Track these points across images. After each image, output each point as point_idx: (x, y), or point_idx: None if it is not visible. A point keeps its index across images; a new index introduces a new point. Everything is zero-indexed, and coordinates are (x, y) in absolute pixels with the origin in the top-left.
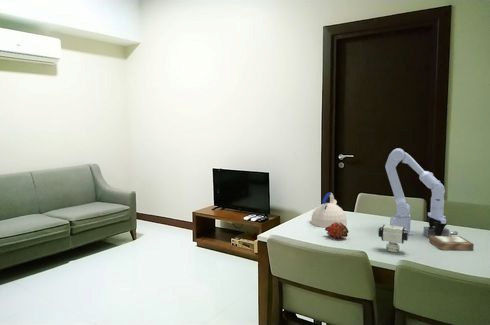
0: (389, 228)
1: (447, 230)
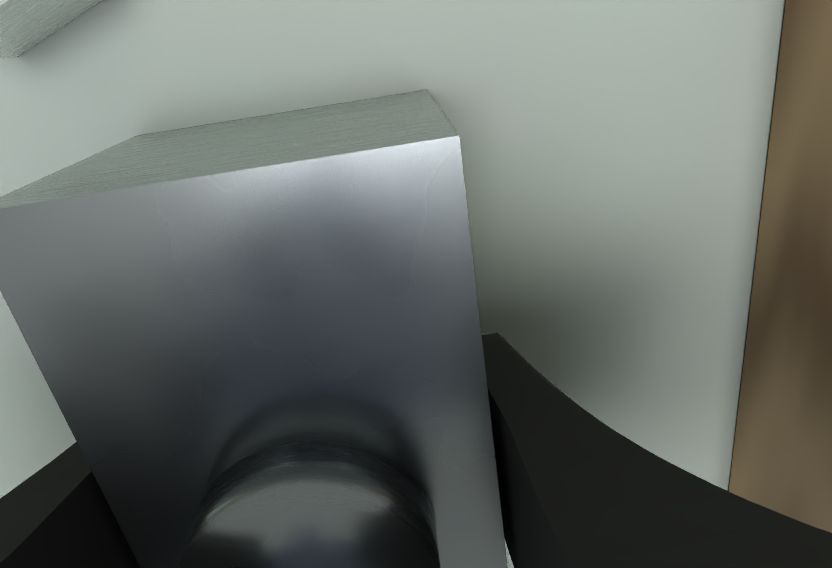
0: None
1: (462, 199)
